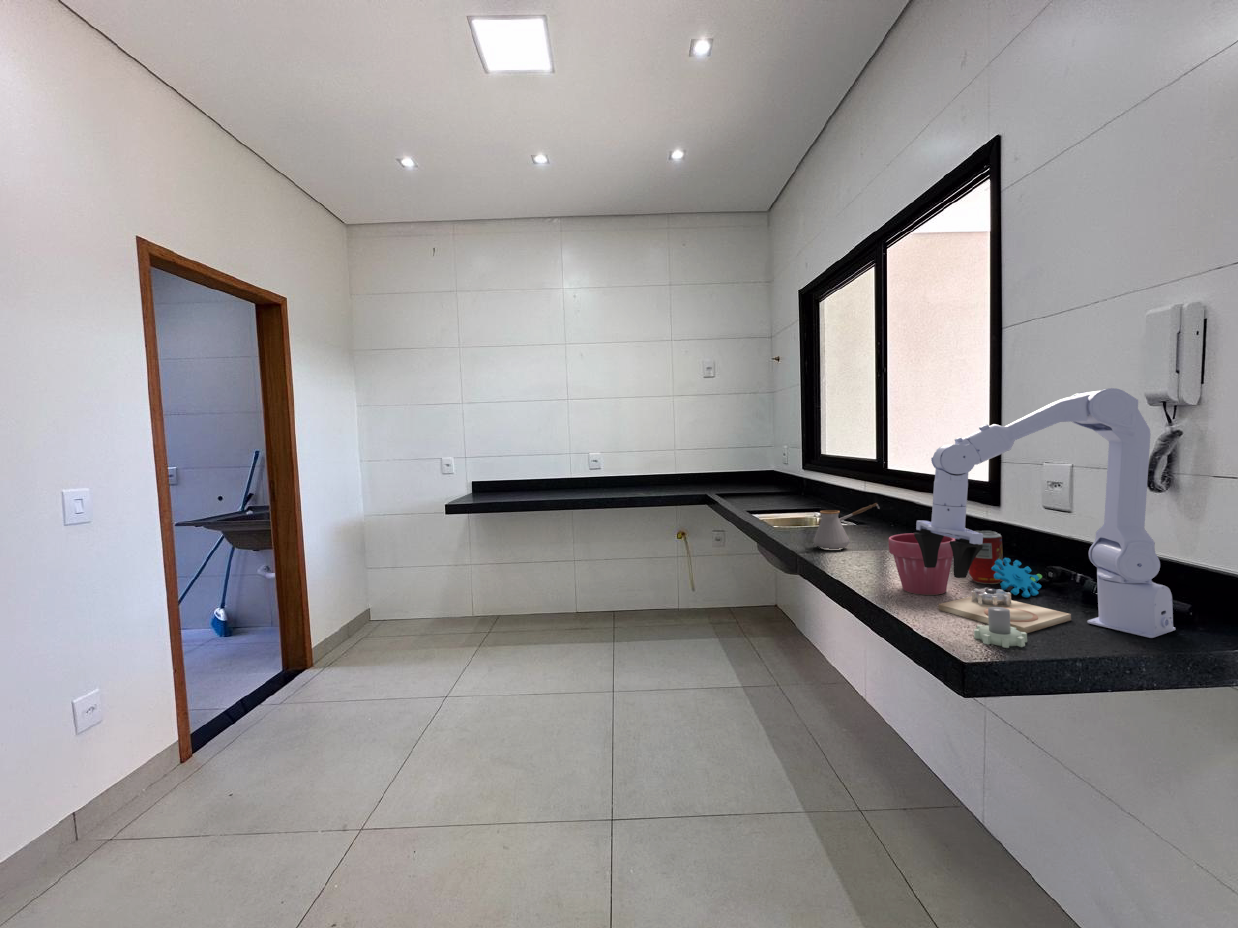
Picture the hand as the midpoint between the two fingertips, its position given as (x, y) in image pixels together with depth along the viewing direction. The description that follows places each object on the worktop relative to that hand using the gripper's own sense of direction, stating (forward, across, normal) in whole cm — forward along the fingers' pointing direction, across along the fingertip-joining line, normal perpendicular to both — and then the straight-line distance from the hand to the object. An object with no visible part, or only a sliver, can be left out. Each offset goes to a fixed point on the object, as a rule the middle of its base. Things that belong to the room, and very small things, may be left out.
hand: (944, 572), depth 106 cm
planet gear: (+9, +11, +2) cm, 15 cm away
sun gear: (+8, -4, +15) cm, 18 cm away
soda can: (+8, -20, +31) cm, 37 cm away
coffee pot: (+11, -68, +26) cm, 74 cm away
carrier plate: (+9, +1, +13) cm, 16 cm away
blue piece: (+8, -9, +29) cm, 31 cm away
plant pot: (+10, -19, +13) cm, 25 cm away
